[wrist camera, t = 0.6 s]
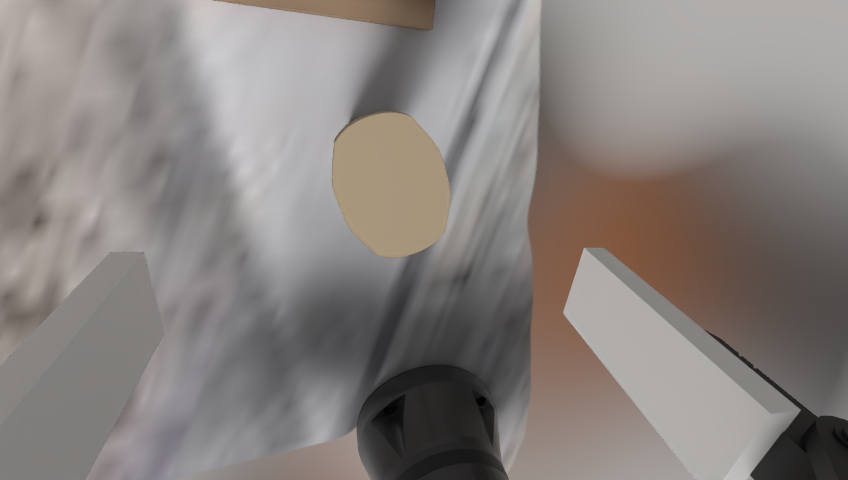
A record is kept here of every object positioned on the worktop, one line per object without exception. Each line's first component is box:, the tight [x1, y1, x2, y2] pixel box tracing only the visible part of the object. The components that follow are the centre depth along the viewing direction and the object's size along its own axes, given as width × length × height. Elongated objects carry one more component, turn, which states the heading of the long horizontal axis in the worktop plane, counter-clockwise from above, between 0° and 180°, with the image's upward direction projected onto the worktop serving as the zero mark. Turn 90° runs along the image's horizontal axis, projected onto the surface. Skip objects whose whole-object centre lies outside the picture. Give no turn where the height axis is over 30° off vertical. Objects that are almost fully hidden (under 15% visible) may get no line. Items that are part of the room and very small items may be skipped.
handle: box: [332, 111, 451, 258], centre depth 24 cm, size 5×6×15 cm
